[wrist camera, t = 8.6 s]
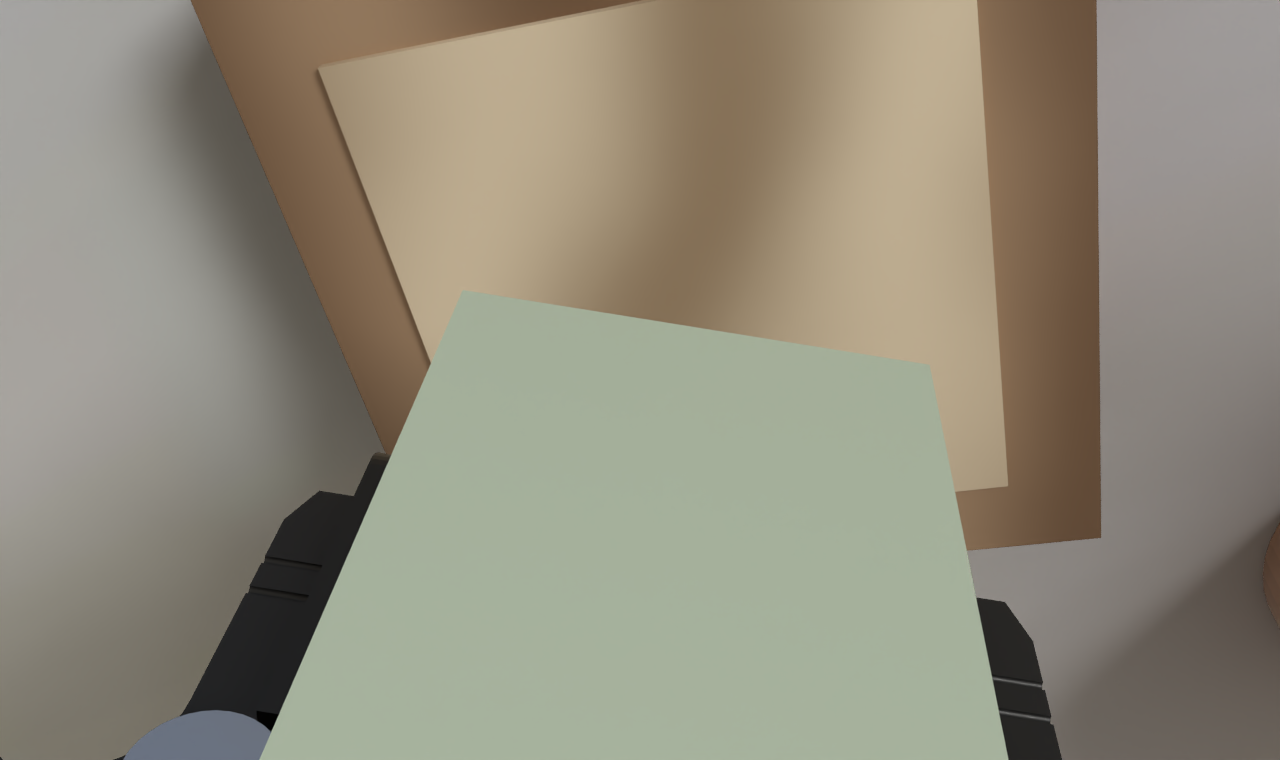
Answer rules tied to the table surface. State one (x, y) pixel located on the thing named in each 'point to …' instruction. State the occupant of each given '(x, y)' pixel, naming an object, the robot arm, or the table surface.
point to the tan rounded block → (1273, 575)
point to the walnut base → (712, 193)
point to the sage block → (652, 558)
